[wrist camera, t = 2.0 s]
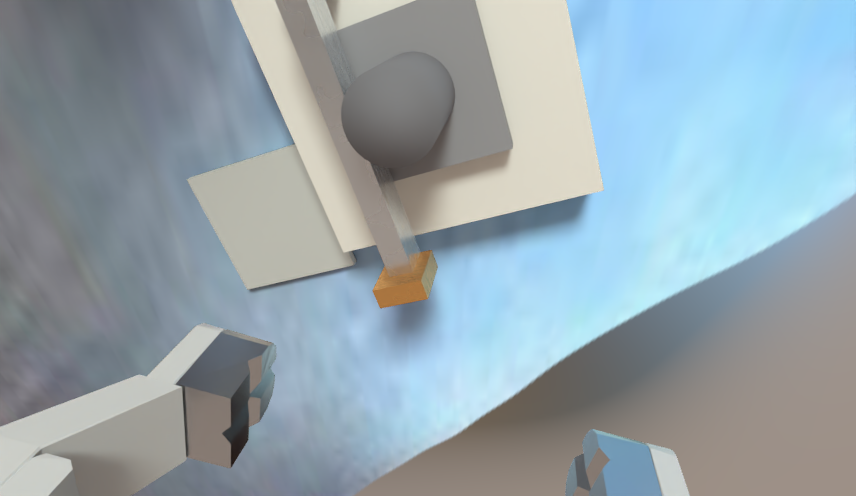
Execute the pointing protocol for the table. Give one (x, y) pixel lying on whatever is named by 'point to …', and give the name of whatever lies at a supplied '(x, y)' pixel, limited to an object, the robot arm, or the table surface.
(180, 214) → the table surface
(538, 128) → the socket
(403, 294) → the ball-tipped lever rod
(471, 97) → the plug
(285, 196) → the mat
